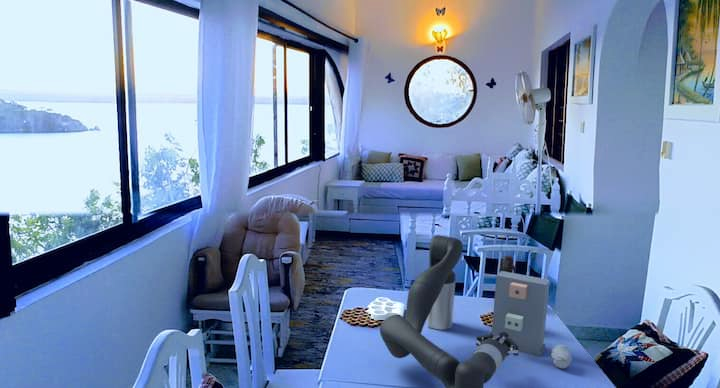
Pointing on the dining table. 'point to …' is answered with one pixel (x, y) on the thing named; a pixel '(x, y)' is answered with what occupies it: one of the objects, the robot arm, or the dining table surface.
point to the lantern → (508, 263)
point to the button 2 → (514, 322)
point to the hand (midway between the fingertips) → (504, 335)
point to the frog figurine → (561, 356)
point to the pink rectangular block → (518, 290)
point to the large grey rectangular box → (522, 311)
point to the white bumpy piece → (385, 308)
